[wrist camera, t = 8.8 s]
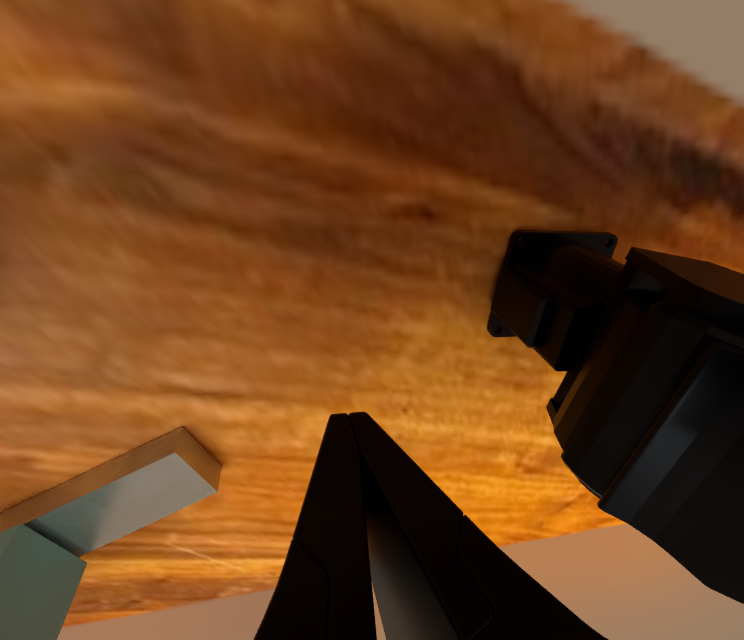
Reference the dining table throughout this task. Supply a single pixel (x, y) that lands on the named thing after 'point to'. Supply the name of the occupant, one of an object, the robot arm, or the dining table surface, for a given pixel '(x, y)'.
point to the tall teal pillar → (35, 585)
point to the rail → (120, 494)
